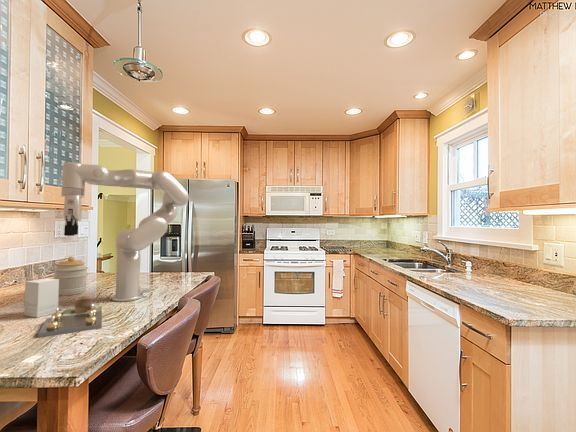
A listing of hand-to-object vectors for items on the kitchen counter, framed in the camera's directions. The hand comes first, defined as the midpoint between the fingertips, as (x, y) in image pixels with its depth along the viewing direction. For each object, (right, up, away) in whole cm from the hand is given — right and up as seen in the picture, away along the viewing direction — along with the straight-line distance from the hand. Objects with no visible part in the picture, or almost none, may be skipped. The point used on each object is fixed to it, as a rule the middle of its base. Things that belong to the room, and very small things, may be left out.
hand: (71, 235), depth 117 cm
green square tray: (+8, -30, -5) cm, 31 cm away
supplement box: (-5, -29, -9) cm, 31 cm away
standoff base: (+16, -29, -20) cm, 38 cm away
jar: (-19, -30, +24) cm, 43 cm away
